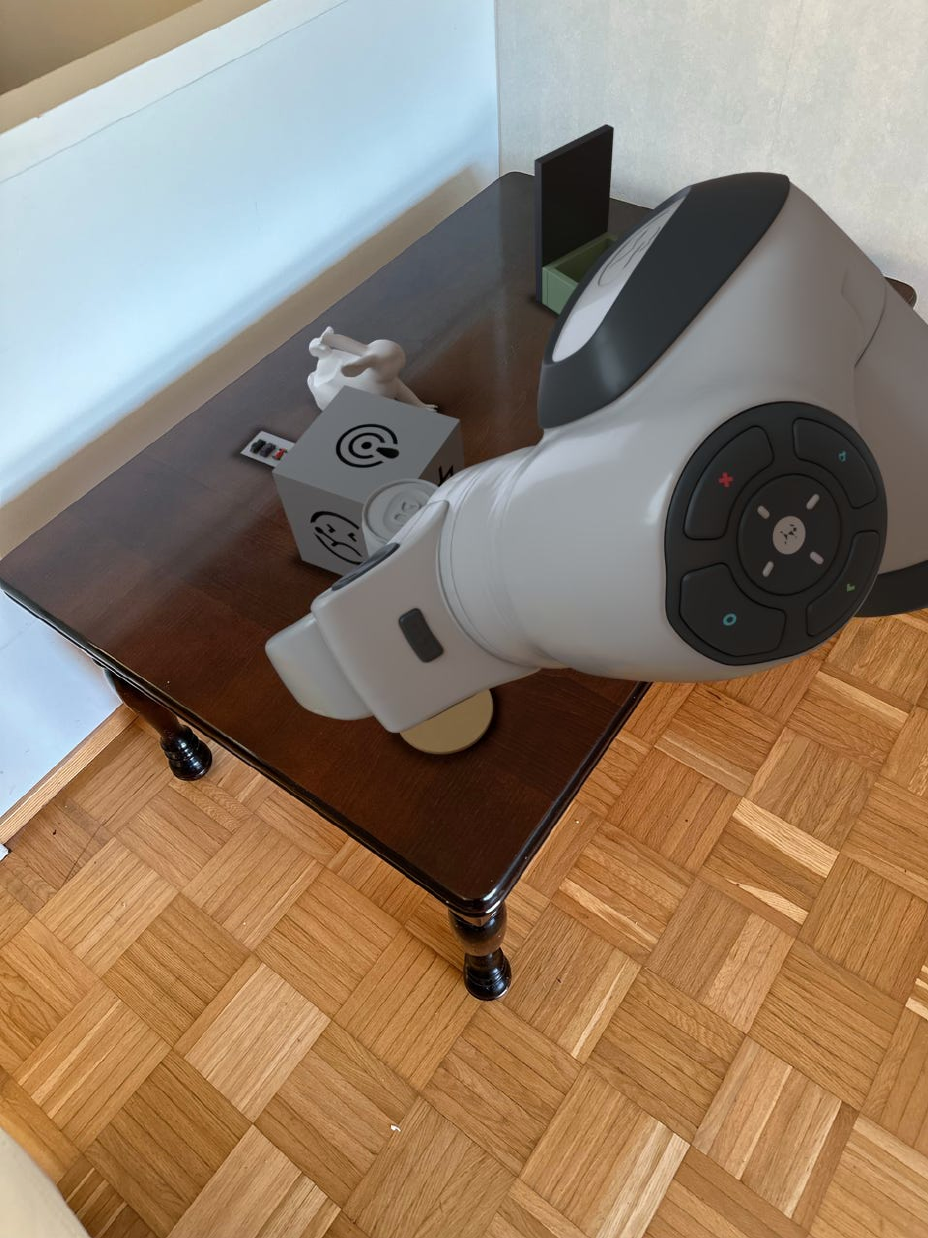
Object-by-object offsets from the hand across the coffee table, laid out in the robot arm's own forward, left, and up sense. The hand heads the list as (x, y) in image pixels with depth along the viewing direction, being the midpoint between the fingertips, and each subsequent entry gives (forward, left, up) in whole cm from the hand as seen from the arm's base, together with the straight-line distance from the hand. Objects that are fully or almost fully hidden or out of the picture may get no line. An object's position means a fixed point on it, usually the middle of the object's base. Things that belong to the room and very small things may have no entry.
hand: (411, 570), depth 51 cm
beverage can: (0, 0, -7) cm, 7 cm away
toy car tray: (+16, -25, -16) cm, 33 cm away
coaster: (0, 0, -16) cm, 16 cm away
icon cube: (+6, -16, -16) cm, 23 cm away
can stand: (-12, -46, -16) cm, 50 cm away
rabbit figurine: (+9, -30, -16) cm, 35 cm away
